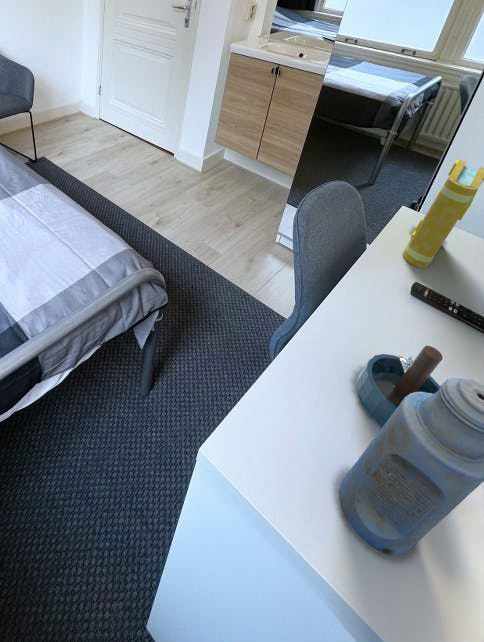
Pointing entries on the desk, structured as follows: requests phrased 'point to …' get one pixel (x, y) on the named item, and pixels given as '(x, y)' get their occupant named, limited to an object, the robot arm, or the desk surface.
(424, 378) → the brown wooden dowel
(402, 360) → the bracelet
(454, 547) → the desk surface
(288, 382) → the desk surface
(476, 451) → the bottle
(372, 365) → the bowl
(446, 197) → the yellow toy tower
